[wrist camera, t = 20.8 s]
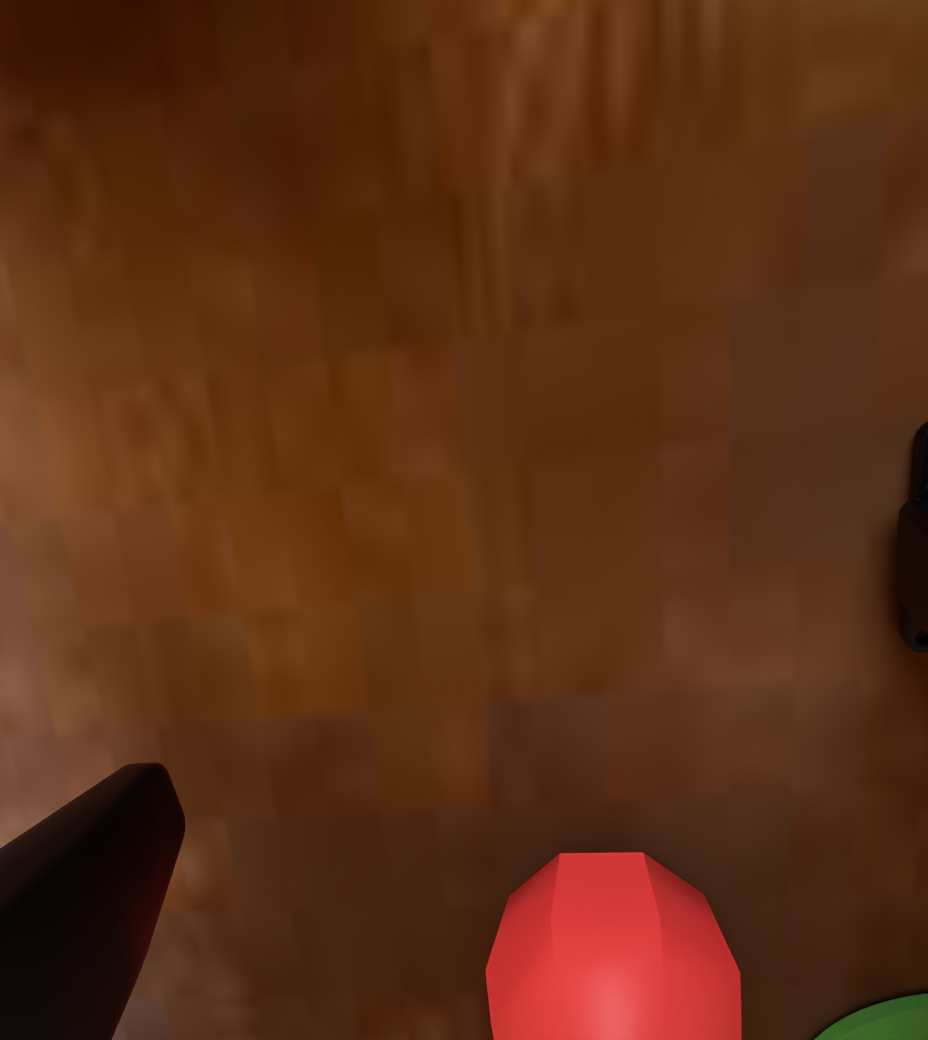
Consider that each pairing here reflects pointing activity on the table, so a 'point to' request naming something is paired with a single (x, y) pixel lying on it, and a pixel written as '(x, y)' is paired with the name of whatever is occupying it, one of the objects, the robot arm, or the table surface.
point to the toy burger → (884, 1021)
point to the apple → (611, 956)
